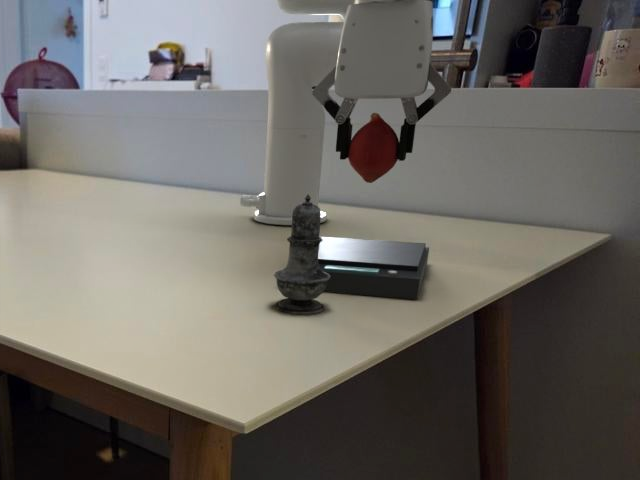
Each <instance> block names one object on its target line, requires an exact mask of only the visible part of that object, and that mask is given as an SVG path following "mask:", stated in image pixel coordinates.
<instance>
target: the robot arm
mask: <svg viewBox="0 0 640 480" xmlns="http://www.w3.org/2000/svg"><path fill="white" fill-rule="evenodd" d="M276 1H277V5H278V7H279V9H280V10H281V12H284V13H286V14H289V15H295V16H296V15H297V16H325V15H326V16H327V15H328V16H329V15H331V16H332V15H333V16H334V15H338V16H340V17H341V19H342V21H300V22H299V21H298V22H297V21H296V22H290V23H286V24H283V25H280V26H279V27H277V28H275V29H274V30H272V32H271V33H270V34H269V36H268V38H267V42H266V45H265V67H266V77H267V78H266V79H267V93H268V95H267V97H268V99H267V101H268V102H267V105H268V106H267V128H266V129H267V130H266V147H265V164H264V166H265V167H264V183H263V184H264V185H263V192H261V193H259V194H258V195H250V194H249V195H248V194H241V196H240V200H239V202H240V203H239V204H240V206H241V207H246V208H251V207H253V208H256V209H258V210H256V211H255V212H253V220H255V221H256V222H259V223H262V224H268V225H275V226H292V214H293V210H294V208H295V207H296V206H298V205H300V204H302V203H303V202H305V201H306V200H305V199H304V198H306V196H307V195H308V194H309V196H310V198H311V199H310V202H311V203H312V204H314V205H316V206H318V207H319V202H320V201H319V200H320V188H321V178H322V177H321V175H322V165H323V151H324V139H325V129H326V128H325V126H326V114H325V113H326V112H327V113H328V115H329V116H330V117H331V118H332V119H333V120H334V121H335V123H336V124H337V130H336V143H335V152H336V153H339V160H346V159H348V148H349V144H350V142H351V140H352V138H353V127H354V126H353V124H352V122H351V121H352V118H351V116H352V113H353V111H354V109H355V107H356V105H357V102H358V100H372V99H373V100H374V99H382V100H383V99H386V100H387V99H400V101H401V105H402V109H403V112H404V116H405V118H404V119H403V124H402V125H400V132H399V139H398V140H399V149H398V158H397V161H399V162H404V161H405V160H406V158H407V154H412V153H413V150H414V149H413V148H414V140H415V132H416V126H417V123H418V122H419V121H420V120H422V118H424V117H425V116H426V115H427V114H428V113H430V112H431V110H433V109H434V108H435V107H436V106H437V105H438V104H440V103H441V102H442V101H443V100H444V99H445V98H447V97H448V96H449V95H450V94H451V93H452V87H451V86H450V85H449V83H448V81H446V80H445V78H444V77H443V76H442V74H440V72H439V71H438V70H437V69H436V67H434V65H433V64H432V55H433V54H432V52H433V39H434V6H433V1H431V0H276ZM429 83H430V84H431V85H432V87H433V89H434V91H433V93H432V94H430V96H429V97H427V98H426V99H425V100H424V101H423V102H422V103H420V105H419V106H418V105H417V102H416V98H415V97H418V96H421V95H423V94H424V93H425V92H426V91H427V90H428V86H429ZM333 86H334V93H335V94H336V95H337V96H338V97H340V98H343V100H342V102H341V104H340V105H339V104H338V102H337V101H336V100H335V99H333V98H332V96H331V95H330V94H329V91H330V89H331V88H332V87H333ZM312 88H313V89H312ZM325 111H326V112H325ZM326 221H327V214H326V212H324V211H322V210H321V218H320V224H322V223H324V222H326Z"/></svg>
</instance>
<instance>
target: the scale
mask: <svg viewBox="0 0 640 480" xmlns="http://www.w3.org/2000/svg"><path fill="white" fill-rule="evenodd" d="M319 237H320V238H321V239H322V242H320V243H319V251H318V264H319V268H320V270H321V271H323V272H326V273H328V274H329V275H330V279H329V280H327V284H326V287H325V289H324V291H323V292H326V293H336V294H337V293H338V294H349V295H358V296H359V295H360V296H361V295H362V296H369V297H370V296H372V297H381V298H393V299H406V300H418V298H419V295H420V291H421V289H422V284H423V280H424V277H425V273H426V271H427V270H426V269H427V266H428V259H429V253H430V246H426V245H427V244H426V242H413V241H411V242H410V241H399V240H398V241H397V240H396V241H395V240H381V239H367V238H366V239H365V238H364V239H363V238H350V237H348V238H347V237H332V236H319Z"/></svg>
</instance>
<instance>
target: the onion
mask: <svg viewBox="0 0 640 480" xmlns="http://www.w3.org/2000/svg"><path fill="white" fill-rule="evenodd" d="M399 140H400V139H399V137H398V135H397V133H396V131H395V130H394V129H393V127H392V126H391V125H390V124H389V123H387V122H386V121H385V119H383V117H382V116H381V115H380V114H379V112H378V113H377V112H372V113H371V115H370V120H369V122H367V123H365V124H364V125H362V126H361V127H360V128H359V129H358V130H357V132H355V133H354V135H352V137H351V142H350V144H349V148H348V158H347V159H348V163H349V165H350V166H351V168H352V169H353V170H354V171H355V172H356V173H357V174H358V175H359V176H360V177H361V178H362V180H363V181H364V182H365V183H367V184H368V183H369V184H372V183H375V182H376V181H377V180H379V179H380V178H382V177H383V176H385V174H387V173H389V172H390V171H391V170H392V169H393V168H394V167H395V165H396V163H397V162H398V160H397V158H398V149H399Z"/></svg>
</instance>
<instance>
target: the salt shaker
mask: <svg viewBox="0 0 640 480" xmlns="http://www.w3.org/2000/svg"><path fill="white" fill-rule="evenodd" d="M304 199H305V200H306V201H305V202H303V203H302V204H300V205H298V206H296V207H295V208H294V210H293V214H292V225H291V231H290V236H289V237H287V239H286V241H287V242H289V247H288V248H289V249H288V258H287V263H286V266H285V267H283V268H282V269H279V270H277V271H275V272H274V274H273V277H274V278H275V279H276V286H277V289H278V291H279V292H280V294H282V296H283V297H285V298H282V299H280V300H279V301H277V302H276V303H274V308H275V309H276V310H277V311H280V312H281V313H282V312H283V313H285V314H286V313H287V314H293V315H314V314H319V313H322V312H324V311H325V305H324V304H322V303H321V301H318V300H316V299H317V298H318V297H320V296H321V295H322V294H323V293H324V292H325V291H324V289H325V287H326V284H327V280H329V279H330V275H329V274H328V273H326V272H323V271H321V270H320V268H319V264H318V251H319V243H320V242H322V239H321V238H320V237H321V236H320V230H321V229H320V228H321V223H320V218H321V211H322V210H321V209H320V207H319V205H318V206H316V205H314V204H312V203H311V202H310V199H311V198H310V196H309V194H308V195H307V196H306V198H304Z"/></svg>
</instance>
